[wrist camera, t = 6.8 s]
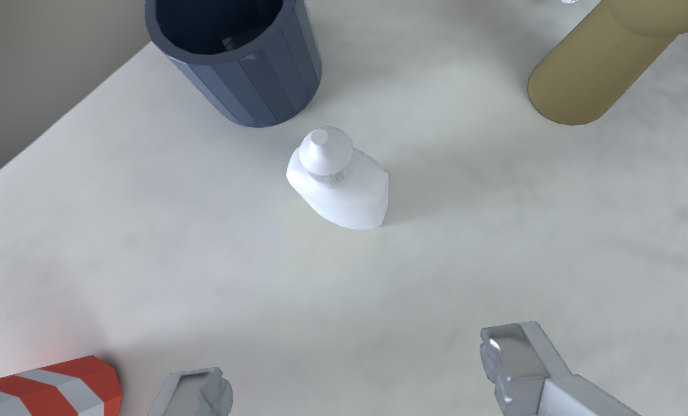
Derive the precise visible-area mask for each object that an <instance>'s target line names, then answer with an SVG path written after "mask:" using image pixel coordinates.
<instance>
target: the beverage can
mask: <svg viewBox="0 0 688 416" xmlns="http://www.w3.org/2000/svg"><path fill="white" fill-rule="evenodd" d="M122 397H123V392H122V389H121V387H120V384H119V381H118V378H117V375H116V372H115V369H114V367H112V366H110V365H109V364H107V363H105V362H104V361H102V360H100V359H99V358H97V357H95V356H94V355H92V356H88V357H83V358H79V359H75V360H70V361H66V362H62V363H58V364H54V365H50V366H46V367H42V368H38V369H34V370H30V371H25V372H21V373H17V374H13V375H9V376H5V377H1V378H0V416H119V411H120V407H121V402H122Z"/></svg>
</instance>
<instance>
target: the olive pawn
mask: <svg viewBox="0 0 688 416" xmlns="http://www.w3.org/2000/svg"><path fill="white" fill-rule="evenodd" d="M685 32H688V0H602V1H601V2H600V3H599V4H598V5H597V6H596V7H595V8H594V9H593V10H592V11H591V12H590V13H589V14H588V15H587V16H586V17H585V18H584V19H583V20H582V21H581V22H580V23H579V24H578V25H577V26H576V27H575V28H574V29H573V30H572V31H571V32H570V33H569V34H568V35H567V36H566V37H565V38H564V39H563V40H562V41H561V42H560V43H559V44H558V45H557V46H556V47H555V48H554V49H553V50H552V51H551V52H550V53H549V54H548V55H547V56H546V57H545V58H544V59H543V60H542V61H541V63H540V64H539V65H538V66H537V67H536V68H535V69H534V71H533V72H532V74H531V76H530V77H529V83H528V93H529V97H530V100H531V102H532V103H533V105H534V107H535V108H536V110H538V111H539V112H540V113H541V114H542V115H543V116H545V117H546V118H548V119H550V120H552V121H554V122H557V123H560V124H566V125H582V124H587V123H589V122H592V121H594V120H597V119H598V118H600V117H601V116H602V115H603V114H604V113H605V112H607V111H608V110H609V108H610V107H611V106H612V105H613V104H614V103H615V102H616V101H617V100H618V99H619V98H620V97H621V96H622V95H623V94H624V92H625V91H626V90H627V89H628V88H629V87H630V86H631V85H632V84H633V83H634V82H635V81H636V80H637V79H638V77H639V76H640V75H641V74H642V73H643V72H644V71H645V70H646V69H647V68H648V67H649V66H650V65H651V64H652V63H653V61H654V60H655V59H656V58H657V57H658V56H659V55H660V54H661V53H662V52H663V51H664V50H665V49H666V48H667V47H668V45H669V44H670V43H671V42H672V41H673V40H674V39H675V38H676V37H677V36H678V35H679V34H683V33H685Z"/></svg>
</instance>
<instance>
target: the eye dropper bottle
mask: <svg viewBox="0 0 688 416" xmlns="http://www.w3.org/2000/svg"><path fill="white" fill-rule="evenodd" d="M287 178H288V180H289V182H290V184H291V185H292V186H293V187H294V188H295V190H296V191H297V192H298V193H299V194H300V195H301V196H302V197H303V198H304V199H305V200H306V201H307V202H308V204H309V205H310V206H311V207H312V208H313V209H314V210H315V211H316V212H317V213H319V214H320V215H321V216H323V217H324V218H326V219H327V220H329V221H331V222H333V223H335V224H337V225H340V226H343V227H347V228H352V229H362V230H366V229H376V228H378V227H380V226H381V224H382V222H383V220H384V216H385V213H386V210H387V207H388V189H389V178H388V173H387V172H386V170H385V169H384V168H383V167H382V166H381V165H380V164H379V163H378V162H377V161H375V160H374V159H373V158H371V157H370V156H368V155H367V154H365V153H363V152H361V151H359V150H357V149H355V148H353V146H352V142H351V140H350V139H349V137H348V135H346V133H344V131H342V130H339V129H337V128H334V127H329V126H328V127H326V126H325V127H320V128H317V129H315V130H313V131H312V132H310V133H309V134H308V135H307V136H306V137H305V139H304V140H303V142H302V144H301V146H300V147H298V148H297V149H296V150H295V151H294V153H293V155H292V157H291V160H290V162H289V165H288V168H287Z"/></svg>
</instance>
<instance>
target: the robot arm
mask: <svg viewBox="0 0 688 416" xmlns="http://www.w3.org/2000/svg"><path fill="white" fill-rule="evenodd" d="M480 336H481V339H482V341H483V343H482V344H481V345H480V355H481V360H482V364H483V367H484V370H485V373H486V375H487V377H488V379H489V380H490V381H492V382H493V383H494V384H495V393H494V394H495V397H496V399H497V401H498V404H499V406H500V408H501V411H502V413H503V415H504V416H641V415H640V414H638V413H637V412H635V411H634V410H632V409H631V408H629V407H627V406H626V405H624V404H623V403H621V402H620V401H618V400H617V399H615V398H614V397H612V396H611V395H609V394H608V393H606V392H605V391H603V390H602V389H600V388H599V387H597V386H596V385H594V384H593V383H591V382H590V381H588V380H587V379H585V378H584V377H582V376H581V375H579V374H575V375H573V374H572V373H571V371H570V370H569V368H568V367H567V365H566V364H565V362H564V361H563V359H562V358H561V356H560V355H559V353H558V352H557V350H556V349H555V347H554V346H553V344H552V343H551V341H550V340H549V338H548V337H547V335H546V334H545V332H544V331H543V329H542V328H541V326H540V325H539V324H538V323H537V322H536V321H529V322H523V323H517V324H516V323H513V324H507V325H500V326H494V327H488V328H482V330H481V335H480ZM222 374H223V372H222V371H221V370H220V368H219V367H214V368H206V369H199V370H191V371H182V372H175V373H170V374H169V375H168V376H167V377H166V378H165V380H164V382H163V384H162V386H161V388H160V391H159V393H158V395H157V397H156V399H155V401H154V403H153V406H152V408H151V410H150V412H149V414H148V416H228V415H229V413H230V411H231V407H232V403H233V391H232V387H231V384H230V383H229V381H227V380H225V379H223V378H221V377H222Z"/></svg>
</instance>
